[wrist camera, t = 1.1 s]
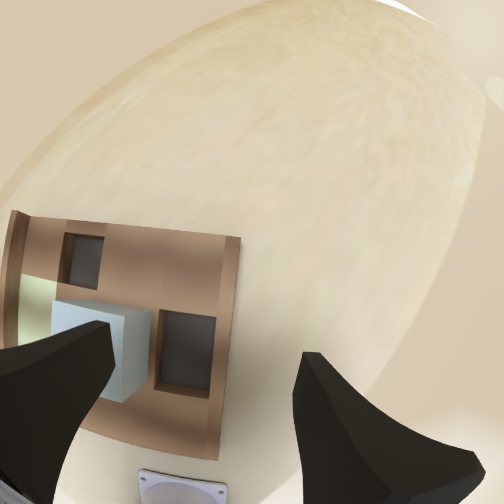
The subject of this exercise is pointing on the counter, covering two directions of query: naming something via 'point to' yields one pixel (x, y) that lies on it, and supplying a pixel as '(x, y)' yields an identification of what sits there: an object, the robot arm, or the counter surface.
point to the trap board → (140, 297)
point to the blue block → (123, 339)
